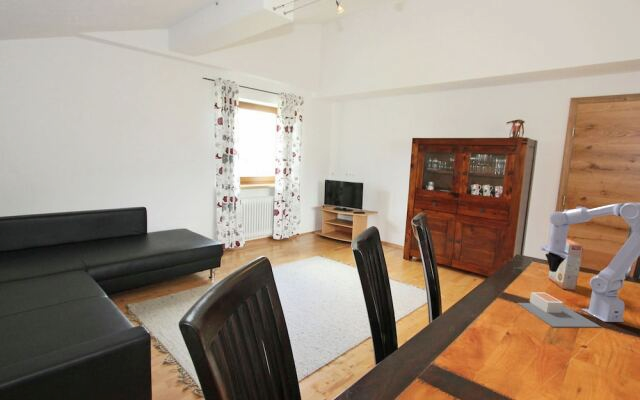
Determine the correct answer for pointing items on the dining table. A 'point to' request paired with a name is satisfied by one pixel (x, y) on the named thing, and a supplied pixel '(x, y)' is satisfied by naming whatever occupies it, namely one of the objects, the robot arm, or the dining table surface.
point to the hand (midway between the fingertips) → (552, 271)
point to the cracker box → (568, 267)
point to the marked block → (546, 302)
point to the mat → (559, 317)
